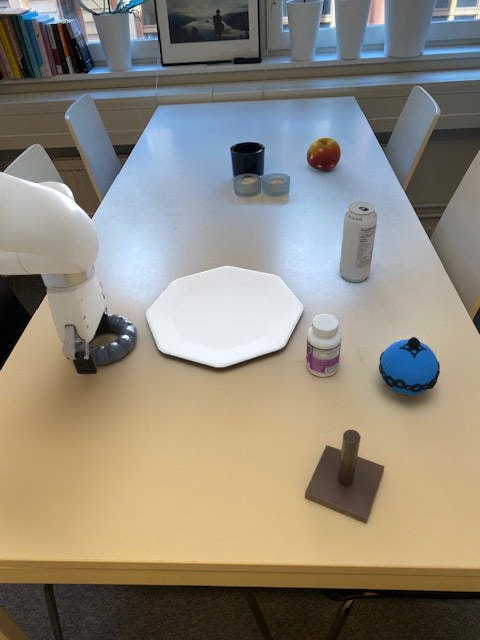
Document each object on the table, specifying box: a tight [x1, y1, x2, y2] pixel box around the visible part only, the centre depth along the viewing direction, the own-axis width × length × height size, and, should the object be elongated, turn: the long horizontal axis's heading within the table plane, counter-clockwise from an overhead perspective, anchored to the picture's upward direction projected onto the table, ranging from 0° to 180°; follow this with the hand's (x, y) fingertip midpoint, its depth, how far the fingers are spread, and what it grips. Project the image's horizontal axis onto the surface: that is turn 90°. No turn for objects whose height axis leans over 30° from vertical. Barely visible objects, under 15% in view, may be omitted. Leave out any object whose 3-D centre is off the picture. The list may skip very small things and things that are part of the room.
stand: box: [304, 429, 385, 524], centre depth 60 cm, size 8×8×10 cm
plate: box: [144, 265, 304, 369], centre depth 91 cm, size 28×28×2 cm
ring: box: [75, 313, 138, 366], centre depth 86 cm, size 12×12×3 cm
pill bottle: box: [305, 313, 343, 378], centre depth 77 cm, size 5×5×10 cm
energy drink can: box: [339, 201, 378, 283], centre depth 94 cm, size 6×6×15 cm
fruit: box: [306, 136, 342, 172], centre depth 138 cm, size 10×9×8 cm
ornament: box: [378, 336, 441, 396], centre depth 73 cm, size 9×9×10 cm
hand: (96, 351), depth 83 cm, fingers open, 9 cm apart
